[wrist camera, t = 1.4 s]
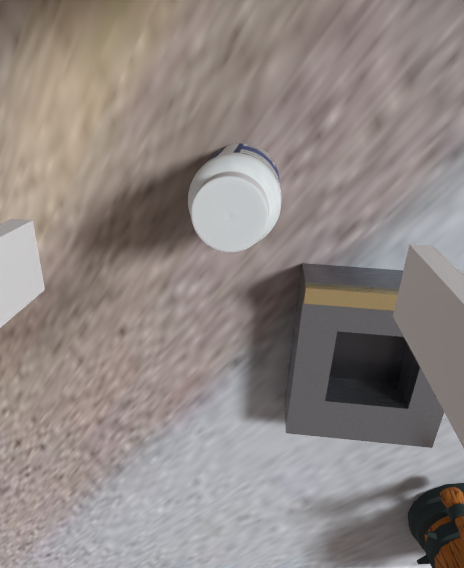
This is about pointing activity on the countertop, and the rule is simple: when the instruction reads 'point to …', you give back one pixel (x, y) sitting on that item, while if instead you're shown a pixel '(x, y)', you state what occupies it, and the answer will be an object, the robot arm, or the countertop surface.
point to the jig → (356, 362)
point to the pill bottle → (235, 198)
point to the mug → (440, 526)
